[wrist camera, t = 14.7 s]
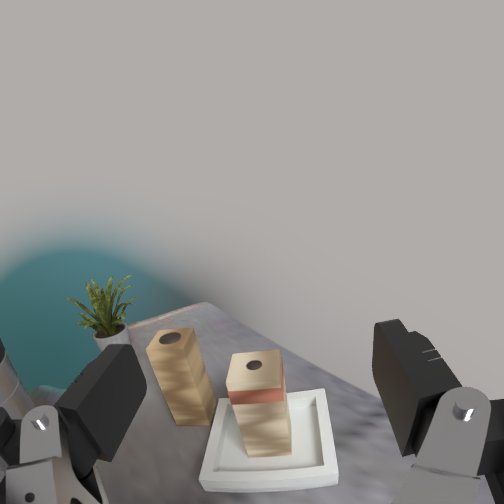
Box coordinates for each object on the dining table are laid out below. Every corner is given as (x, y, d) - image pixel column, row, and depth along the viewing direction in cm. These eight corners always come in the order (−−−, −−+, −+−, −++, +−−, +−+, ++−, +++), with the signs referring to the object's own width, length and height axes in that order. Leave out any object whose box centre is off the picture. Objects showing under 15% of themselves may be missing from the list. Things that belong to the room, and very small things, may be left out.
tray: (205, 491, 23) (198, 479, 22) (223, 411, 36) (219, 398, 35) (337, 484, 22) (338, 472, 21) (324, 401, 34) (324, 388, 34)
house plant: (174, 342, 56) (151, 262, 52) (134, 384, 43) (99, 291, 40) (121, 337, 61) (98, 266, 57) (80, 370, 48) (49, 291, 44)
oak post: (177, 425, 34) (145, 348, 31) (185, 403, 38) (158, 329, 35) (210, 425, 33) (182, 347, 30) (216, 403, 37) (193, 327, 35)
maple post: (248, 457, 26) (224, 382, 24) (251, 428, 31) (232, 352, 28) (292, 455, 26) (280, 377, 23) (291, 425, 30) (280, 348, 28)
